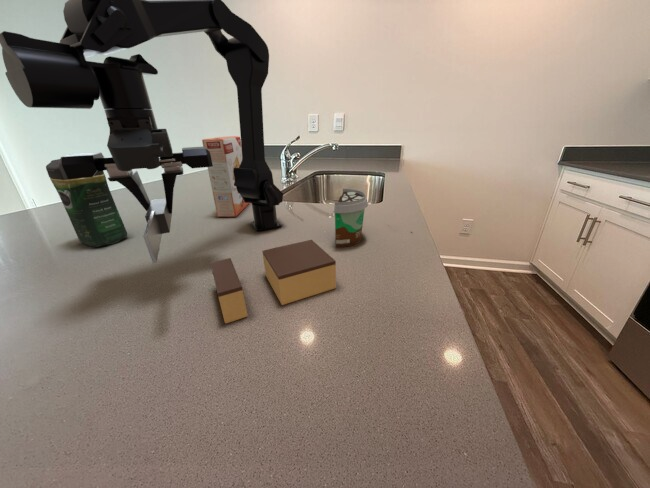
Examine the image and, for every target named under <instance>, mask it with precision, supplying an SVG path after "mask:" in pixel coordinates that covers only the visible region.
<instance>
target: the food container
mask: <svg viewBox="0 0 650 488" xmlns="http://www.w3.org/2000/svg"><path fill="white" fill-rule="evenodd" d="M368 206H369V201H368V197H367V196H366V193H365V192H364V191H362V190H358V189H353V188H342V193H341V195H340V196H339V198H338V201H335V202H334V208H333V209H334V211H333V214H334V228H335V229H334V230H335V247H336V248H344V247H345V248H346V247H351V246H355V245H357V244H358V243H360V242H361V240H362V233H363V227H364V226H363V225H364V218H365V217H364V216H365V209H366V208H368Z"/></svg>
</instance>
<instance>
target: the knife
mask: <svg viewBox="0 0 650 488" xmlns="http://www.w3.org/2000/svg"><path fill="white" fill-rule="evenodd" d="M172 216H173V212H172V213H171V214H170V213H169V210H168V207H167V203H166V197H165V198H157V199H151V201H150V206H149V208H148V210H147V211H146V213H145V215H144V218H145V221H146V225H145V228H144V232H143V233H142V237H143V240H144V243H145V245H146V248H147V252H148V253H149V257H150V259H151V262H152V264H157V263H158V257H159V252H160V248H161V247H160V246H161V242H162V238H163V237H162V236H163V234H169V233H170V232H171V225H172Z"/></svg>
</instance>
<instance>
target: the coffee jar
mask: <svg viewBox="0 0 650 488" xmlns="http://www.w3.org/2000/svg"><path fill="white" fill-rule="evenodd" d="M59 160H60V158H57V159H52V160H51V161H50V162H49V163H47V164H46V165H45V169H46V170H45V171H46V172H47V175H48V178H49V179H50V182H51V183H52V185H53V187H54V188H55V190H56V192H57V194H58V197H59V199H60V200H61V203H62V205H63V208H64V210H65V212H66V214H67V216H68V219H69V220H70V223H71V226H72V227H73V230H74V232H75V234H76V236H77V239H78V241H79V242H80V243H81V244H82V245H85V246H88V247H95V248H96V247H97V248H98V247H101V246H106V245H112V244H116V243H118V242H120V241H121V240H123V239H125V238H127V237H128V232H127V229H126V226H125V224H124V221H123V219H122V216H121V214H120V212H119V210H118V207H117V204H116V202H115V200H114V198H113V195H112V193H111V189H110V187H109V184H108V181H107V180H108V179H107V177H106V173H105V172H104V171H99V172H96V174H95V175H94V176H93V177H88V178H76V179H64V177H63V175H62V173H61V170H60V168H59V163H58V161H59Z"/></svg>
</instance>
